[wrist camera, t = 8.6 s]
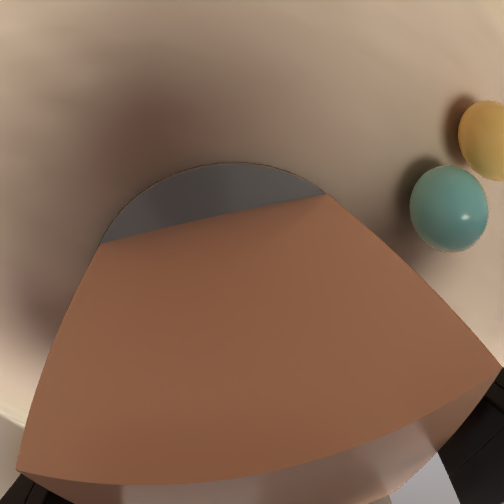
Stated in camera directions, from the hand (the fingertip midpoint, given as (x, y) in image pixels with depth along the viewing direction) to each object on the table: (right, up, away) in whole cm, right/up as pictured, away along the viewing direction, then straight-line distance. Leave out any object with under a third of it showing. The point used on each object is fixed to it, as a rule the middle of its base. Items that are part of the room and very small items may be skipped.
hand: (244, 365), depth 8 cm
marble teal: (+7, +5, +2) cm, 9 cm away
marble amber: (+9, +8, +1) cm, 12 cm away
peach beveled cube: (0, +1, +2) cm, 2 cm away
